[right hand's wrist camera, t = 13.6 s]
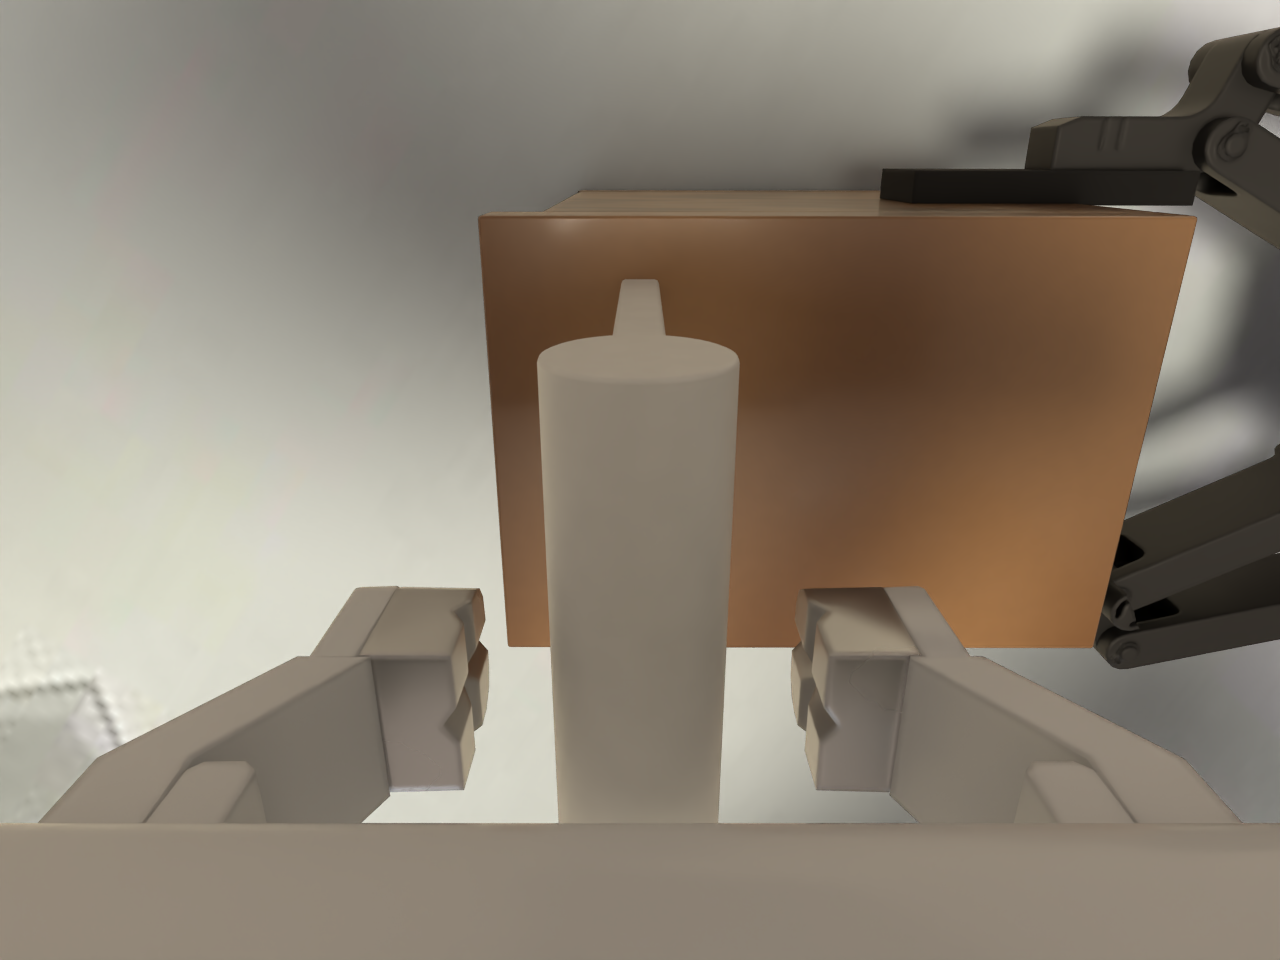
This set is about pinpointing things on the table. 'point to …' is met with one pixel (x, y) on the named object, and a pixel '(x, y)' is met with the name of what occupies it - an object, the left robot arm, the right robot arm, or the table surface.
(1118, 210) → the chest
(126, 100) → the table surface
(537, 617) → the lid
